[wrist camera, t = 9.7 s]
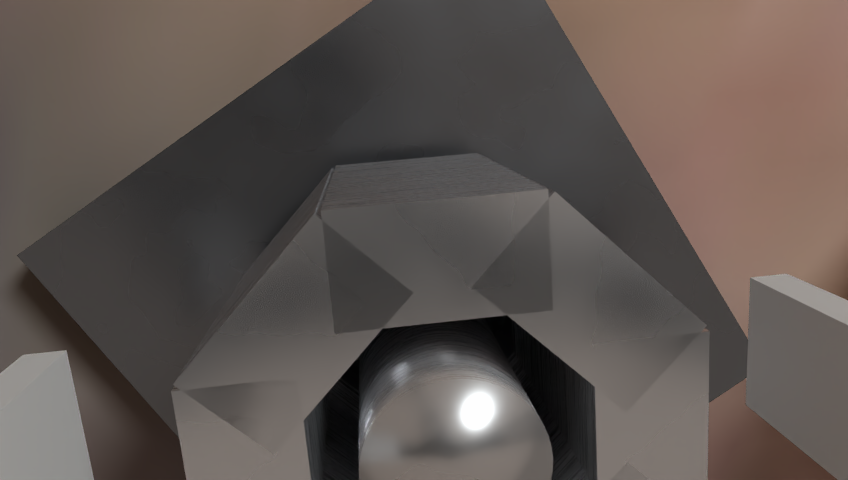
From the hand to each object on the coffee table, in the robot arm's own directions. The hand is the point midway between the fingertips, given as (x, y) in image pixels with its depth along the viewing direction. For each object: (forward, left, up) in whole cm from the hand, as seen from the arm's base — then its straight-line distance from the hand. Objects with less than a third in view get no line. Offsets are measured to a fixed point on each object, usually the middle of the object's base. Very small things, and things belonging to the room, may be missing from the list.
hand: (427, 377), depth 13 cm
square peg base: (0, 0, -6) cm, 6 cm away
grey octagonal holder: (0, 0, -3) cm, 3 cm away
